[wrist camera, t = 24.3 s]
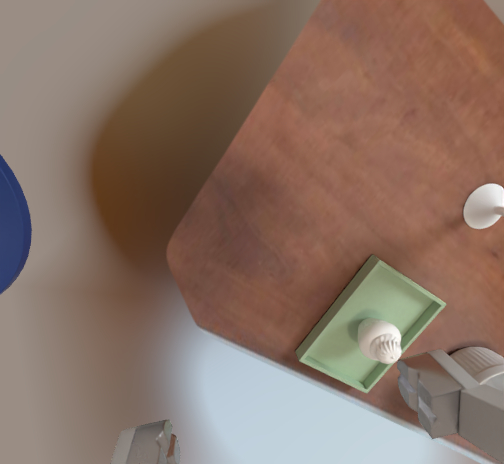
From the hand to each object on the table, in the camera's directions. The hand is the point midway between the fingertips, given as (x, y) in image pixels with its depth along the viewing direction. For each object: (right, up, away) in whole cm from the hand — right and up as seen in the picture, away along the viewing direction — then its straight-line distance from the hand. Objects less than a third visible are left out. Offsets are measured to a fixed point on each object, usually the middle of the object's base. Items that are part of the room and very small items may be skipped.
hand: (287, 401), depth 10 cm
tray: (+17, -9, +36) cm, 40 cm away
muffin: (+17, -9, +35) cm, 40 cm away
